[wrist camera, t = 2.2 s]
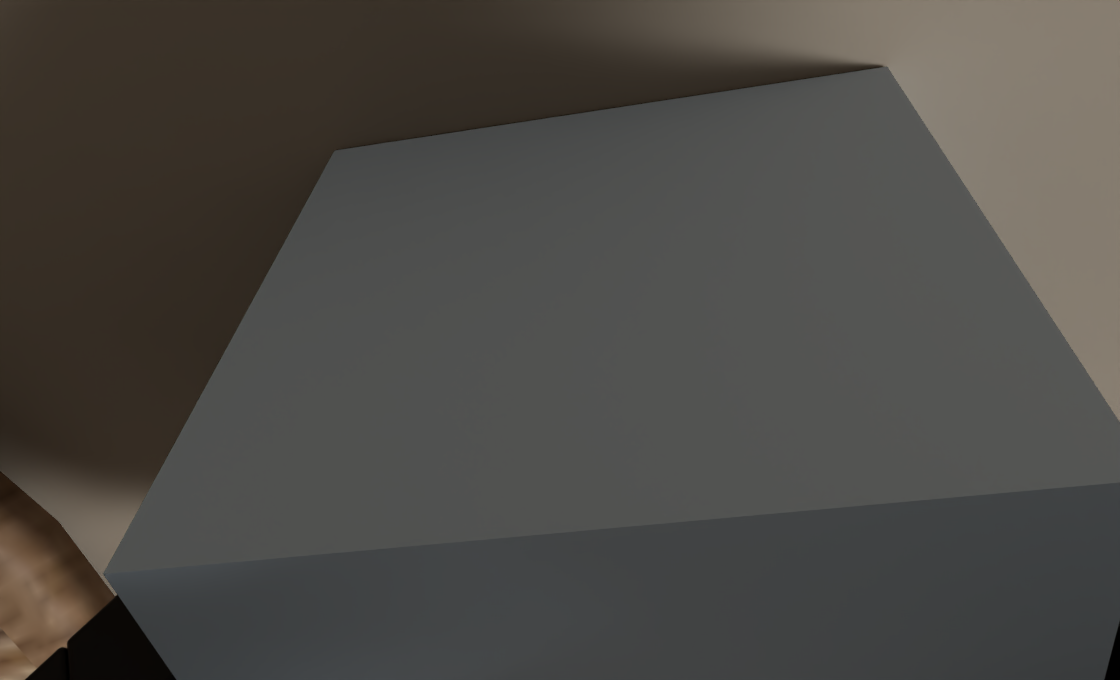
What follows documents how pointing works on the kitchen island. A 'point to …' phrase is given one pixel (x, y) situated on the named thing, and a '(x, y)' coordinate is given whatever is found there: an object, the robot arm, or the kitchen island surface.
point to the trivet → (40, 584)
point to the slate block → (641, 418)
